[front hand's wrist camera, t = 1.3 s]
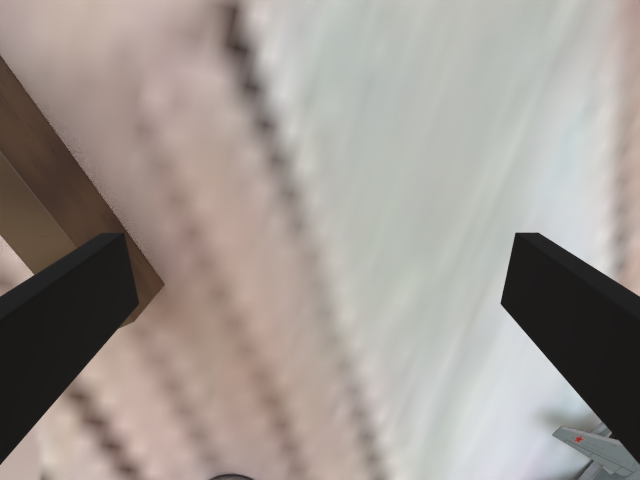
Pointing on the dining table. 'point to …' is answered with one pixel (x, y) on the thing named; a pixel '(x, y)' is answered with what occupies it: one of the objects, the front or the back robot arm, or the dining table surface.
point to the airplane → (601, 454)
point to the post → (52, 194)
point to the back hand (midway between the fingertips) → (36, 299)
